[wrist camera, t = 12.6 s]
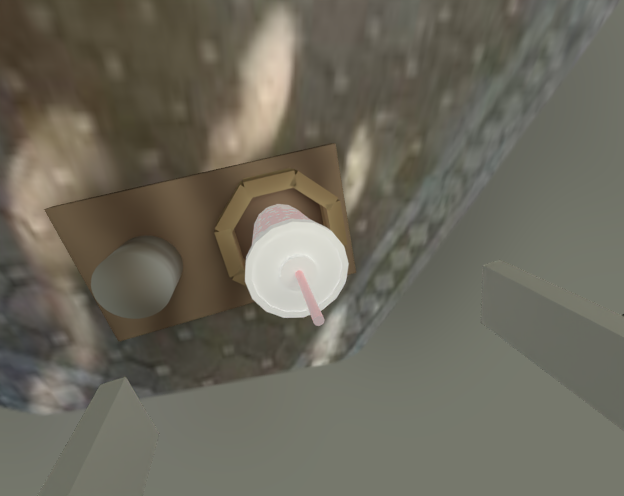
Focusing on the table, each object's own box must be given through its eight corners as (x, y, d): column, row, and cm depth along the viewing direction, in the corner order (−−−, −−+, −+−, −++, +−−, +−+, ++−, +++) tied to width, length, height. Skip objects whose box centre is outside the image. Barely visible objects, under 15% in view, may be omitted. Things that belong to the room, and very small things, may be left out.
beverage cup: (273, 179, 24) (309, 221, 11) (329, 223, 26) (413, 301, 13) (229, 237, 24) (212, 342, 12) (286, 275, 27) (325, 398, 14)
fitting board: (123, 333, 26) (97, 375, 22) (54, 206, 22) (1, 223, 17) (351, 267, 29) (372, 291, 25) (331, 143, 25) (352, 143, 20)
